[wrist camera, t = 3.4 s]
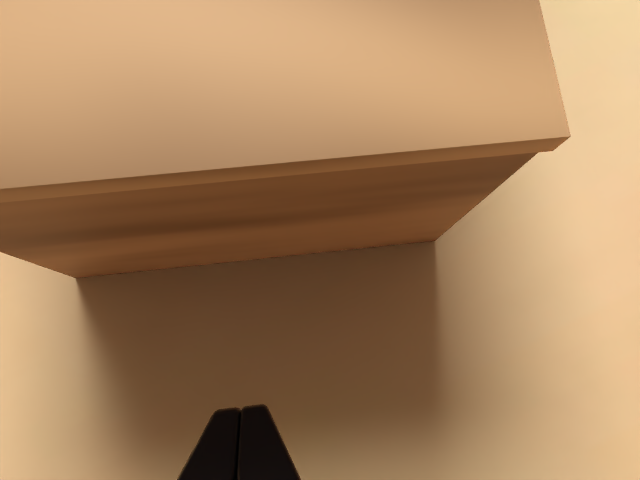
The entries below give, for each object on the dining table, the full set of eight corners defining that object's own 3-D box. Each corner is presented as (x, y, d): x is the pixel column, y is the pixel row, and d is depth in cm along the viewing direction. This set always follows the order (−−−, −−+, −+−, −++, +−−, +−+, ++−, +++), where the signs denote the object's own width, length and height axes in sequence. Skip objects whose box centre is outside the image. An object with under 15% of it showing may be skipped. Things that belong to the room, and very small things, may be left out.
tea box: (437, 244, 16) (570, 136, 8) (74, 282, 16) (-165, 204, 8) (391, -33, 18) (461, -332, 10) (70, -11, 18) (-118, -312, 10)
